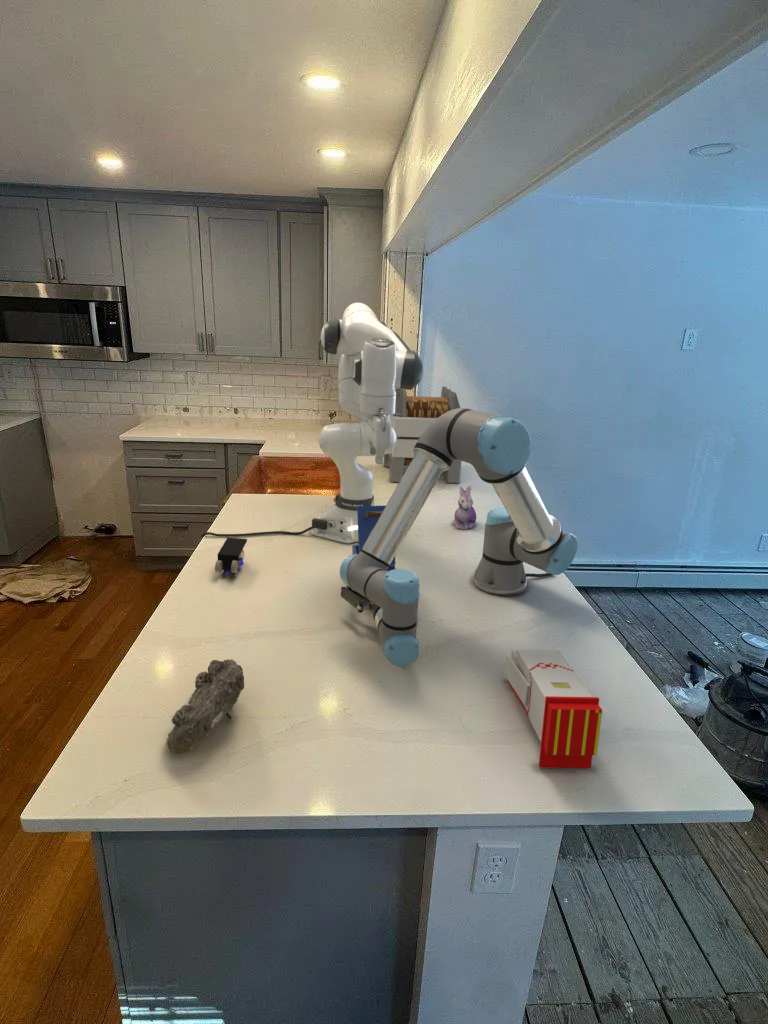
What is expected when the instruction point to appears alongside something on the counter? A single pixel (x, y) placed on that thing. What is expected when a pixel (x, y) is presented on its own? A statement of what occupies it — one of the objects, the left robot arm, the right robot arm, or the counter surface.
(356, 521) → the left robot arm
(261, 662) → the counter surface
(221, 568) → the figurine character
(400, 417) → the transformer
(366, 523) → the lid
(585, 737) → the toy
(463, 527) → the figurine
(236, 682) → the fossil
